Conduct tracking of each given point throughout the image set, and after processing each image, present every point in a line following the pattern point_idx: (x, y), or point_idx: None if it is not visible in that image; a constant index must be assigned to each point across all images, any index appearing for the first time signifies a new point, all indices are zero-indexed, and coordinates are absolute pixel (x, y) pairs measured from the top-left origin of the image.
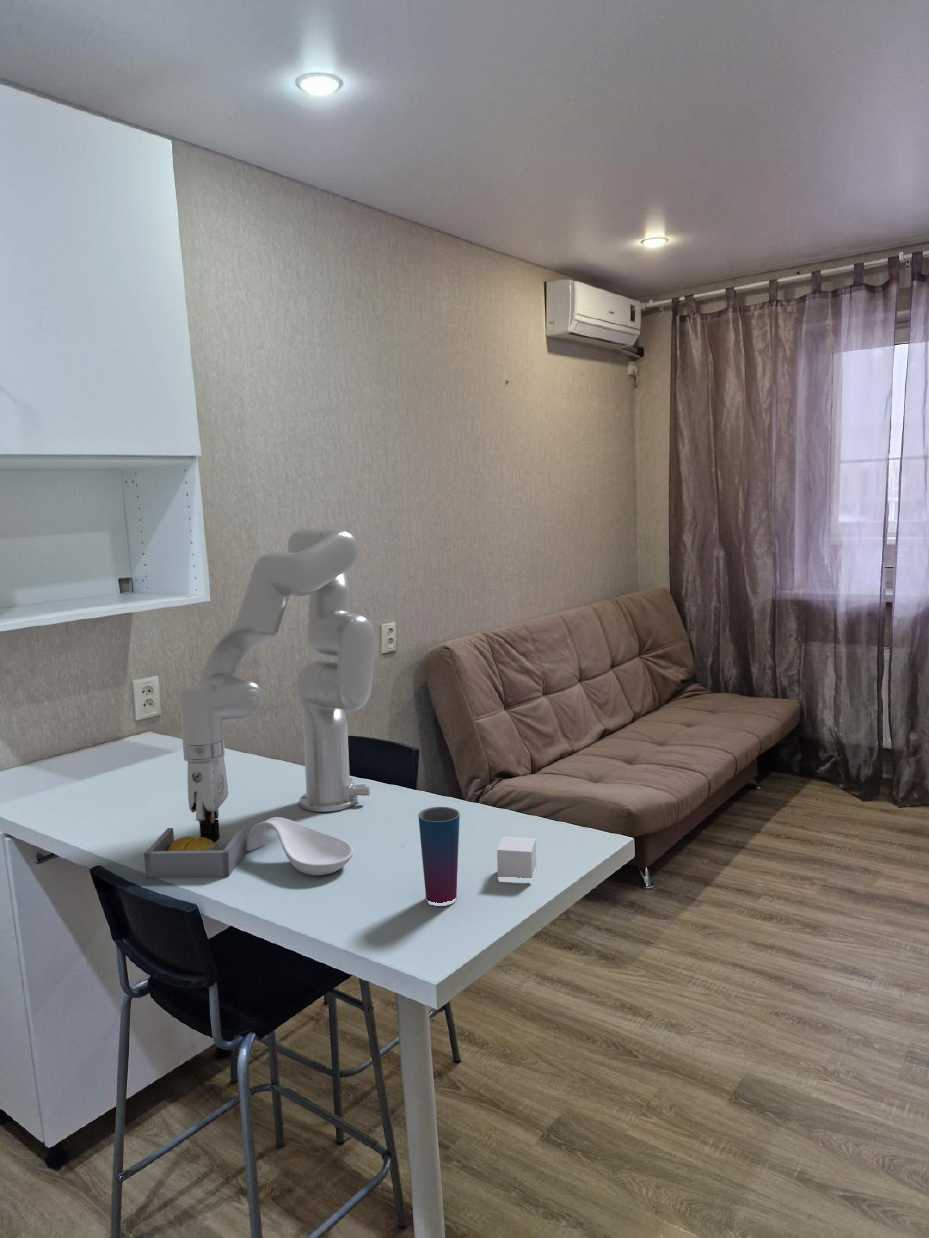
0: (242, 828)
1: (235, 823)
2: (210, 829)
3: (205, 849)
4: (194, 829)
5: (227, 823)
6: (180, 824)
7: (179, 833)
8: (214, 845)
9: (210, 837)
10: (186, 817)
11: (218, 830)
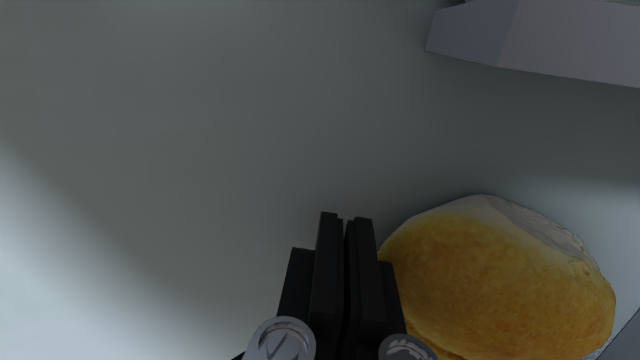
0: (565, 28)
1: (13, 145)
2: (400, 312)
3: (590, 276)
4: (127, 307)
5: (25, 186)
6: (85, 350)
7: (174, 346)
8: (506, 231)
9: (391, 269)
10: (11, 340)
11: (334, 246)
